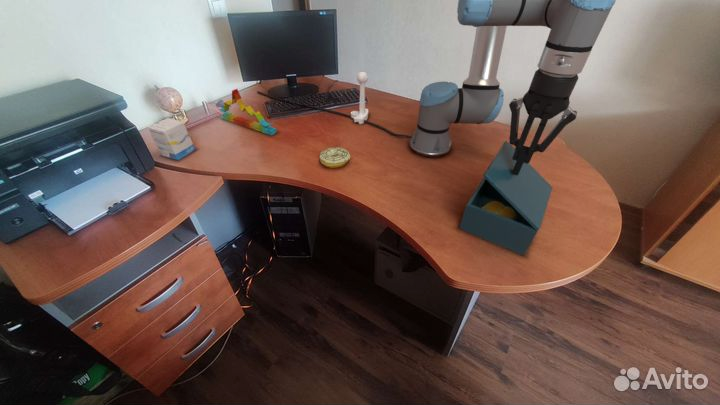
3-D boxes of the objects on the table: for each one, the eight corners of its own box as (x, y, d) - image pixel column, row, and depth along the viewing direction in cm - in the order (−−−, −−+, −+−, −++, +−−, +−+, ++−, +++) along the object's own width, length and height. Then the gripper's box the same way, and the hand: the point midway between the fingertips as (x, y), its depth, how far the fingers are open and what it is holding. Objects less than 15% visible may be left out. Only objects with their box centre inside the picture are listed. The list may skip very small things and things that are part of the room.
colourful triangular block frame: (277, 132, 123) (269, 96, 113) (271, 135, 121) (263, 99, 111) (228, 116, 135) (217, 82, 125) (222, 118, 133) (211, 85, 123)
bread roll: (505, 233, 78) (510, 223, 75) (475, 216, 83) (479, 205, 80) (520, 219, 82) (525, 208, 79) (491, 203, 87) (495, 192, 84)
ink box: (196, 149, 113) (184, 121, 105) (177, 160, 107) (163, 131, 99) (180, 145, 116) (167, 116, 108) (161, 155, 110) (146, 126, 102)
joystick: (363, 124, 128) (363, 76, 114) (347, 122, 129) (345, 75, 116) (370, 113, 136) (371, 68, 122) (354, 111, 137) (353, 66, 124)
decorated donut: (356, 160, 106) (355, 151, 104) (334, 173, 100) (333, 164, 98) (335, 150, 111) (335, 141, 109) (314, 162, 106) (313, 153, 103)
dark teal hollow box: (459, 228, 80) (466, 204, 75) (480, 193, 92) (488, 169, 86) (523, 255, 73) (537, 231, 68) (537, 213, 85) (550, 189, 79)
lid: (482, 176, 68) (485, 174, 67) (504, 142, 79) (506, 140, 78) (536, 230, 68) (539, 229, 67) (549, 188, 79) (552, 187, 78)
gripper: (517, 71, 57) (484, 170, 73) (595, 84, 52) (542, 189, 67) (525, 61, 62) (493, 157, 77) (598, 72, 56) (547, 173, 72)
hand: (515, 171), depth 72 cm, fingers closed
